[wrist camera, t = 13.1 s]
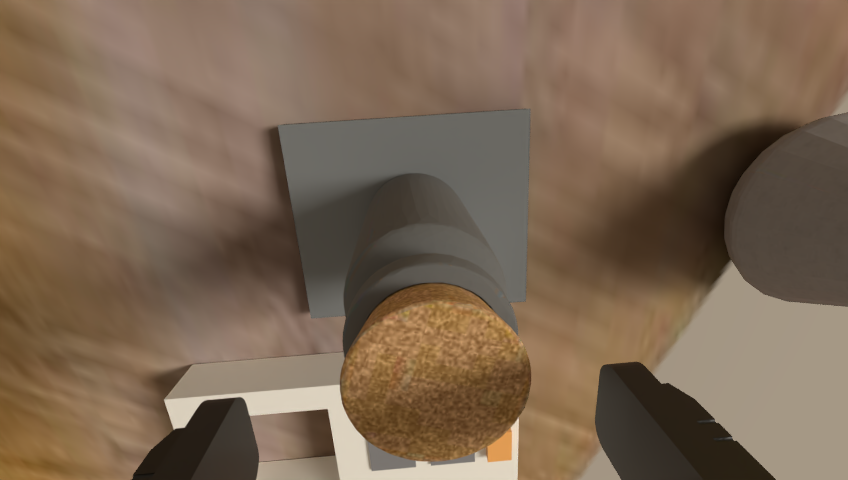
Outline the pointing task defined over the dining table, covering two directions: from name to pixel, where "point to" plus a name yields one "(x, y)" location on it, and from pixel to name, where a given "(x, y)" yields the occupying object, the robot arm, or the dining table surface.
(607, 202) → the dining table surface
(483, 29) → the dining table surface
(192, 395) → the power strip
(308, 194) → the mat
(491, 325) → the bottle
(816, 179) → the coffee pot
